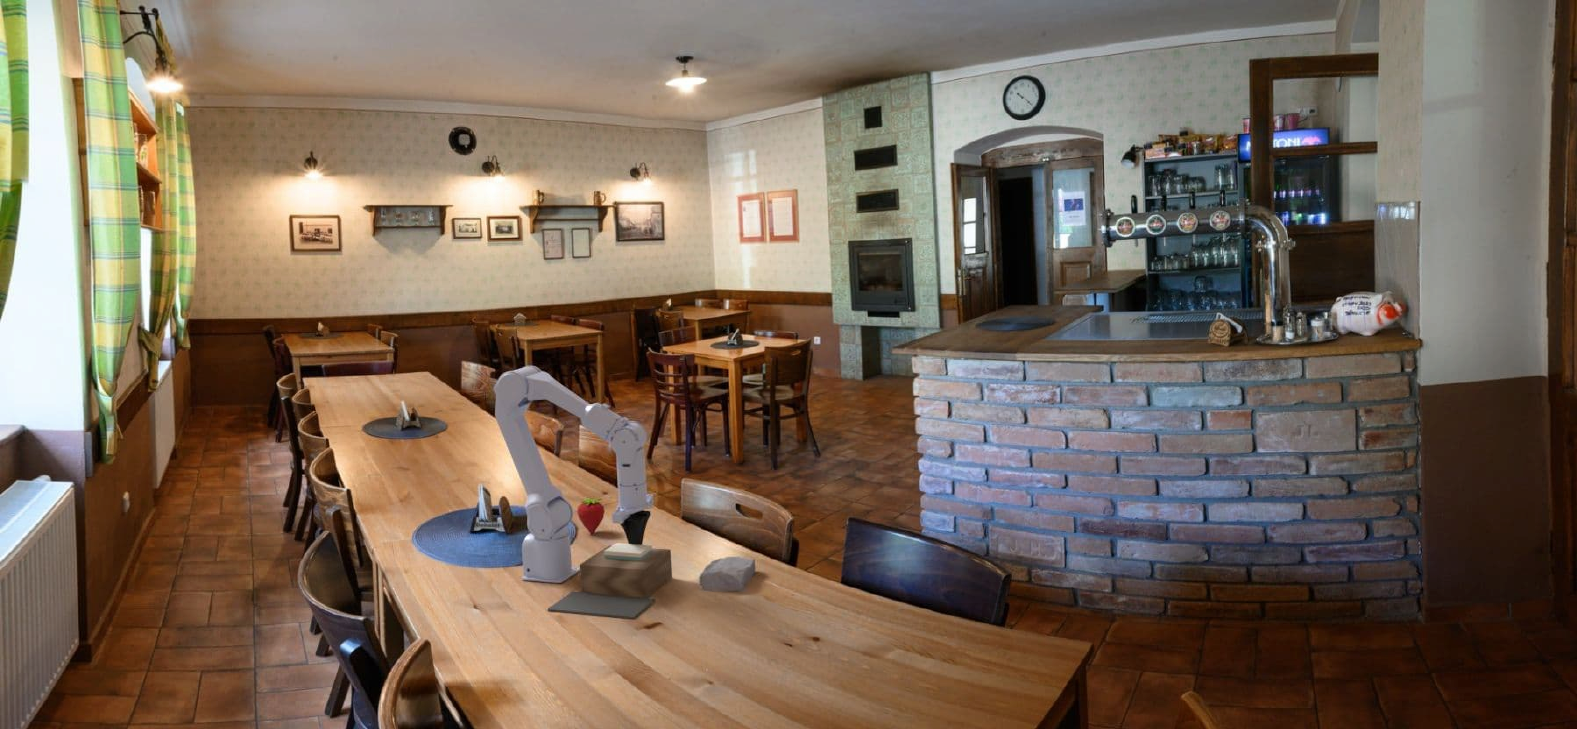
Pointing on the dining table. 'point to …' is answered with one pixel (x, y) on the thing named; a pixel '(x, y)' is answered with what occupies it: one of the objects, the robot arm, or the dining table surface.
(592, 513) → the strawberry
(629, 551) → the teal and white sponge
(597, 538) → the dining table surface
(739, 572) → the stone block
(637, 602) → the mat
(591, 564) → the riser
